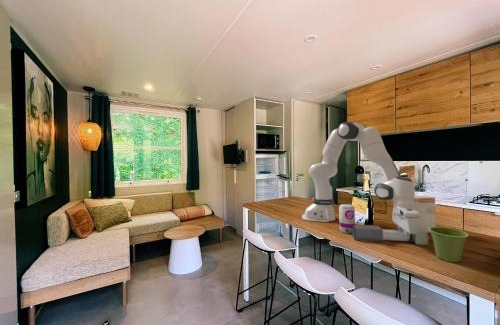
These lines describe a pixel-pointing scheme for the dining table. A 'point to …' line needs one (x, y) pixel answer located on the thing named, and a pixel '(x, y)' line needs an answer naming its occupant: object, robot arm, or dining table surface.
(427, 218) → the coffeecake box
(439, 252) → the plant pot
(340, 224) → the supplement can
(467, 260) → the dining table surface
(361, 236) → the sleeve
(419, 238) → the socket
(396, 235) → the slip tube
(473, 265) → the dining table surface
